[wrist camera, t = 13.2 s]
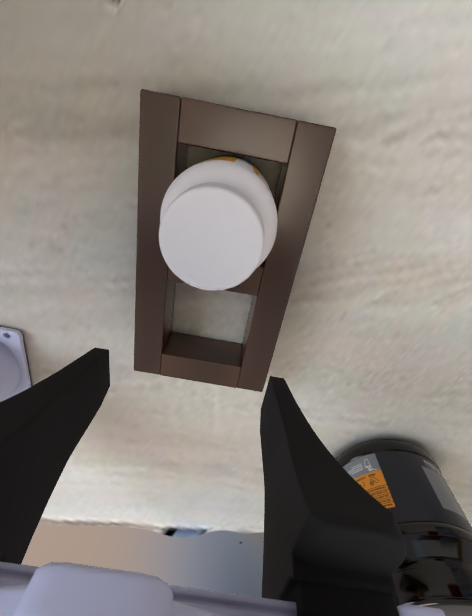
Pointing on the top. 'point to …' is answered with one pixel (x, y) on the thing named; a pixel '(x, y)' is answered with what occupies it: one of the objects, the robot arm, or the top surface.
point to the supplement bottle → (217, 223)
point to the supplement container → (419, 523)
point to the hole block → (266, 278)
